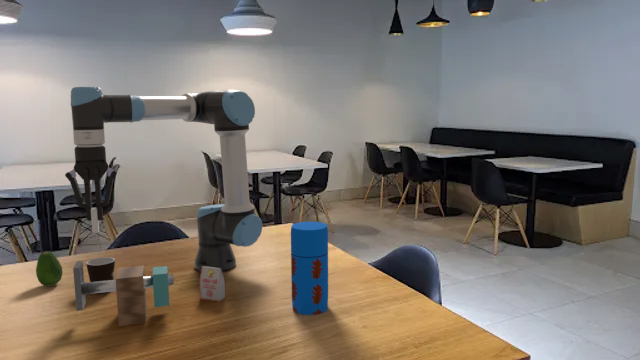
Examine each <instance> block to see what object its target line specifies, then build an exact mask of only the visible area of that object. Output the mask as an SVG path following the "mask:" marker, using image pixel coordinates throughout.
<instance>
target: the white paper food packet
mask: <svg viewBox="0 0 640 360" xmlns="http://www.w3.org/2000/svg"><path fill="white" fill-rule="evenodd" d="M198 282H199V285H198V286H199V299H200V300H207V301H214V302H220V301H222V300H224V299H225V298H226V287H225V284H226V283H225V277H224V274H223V271H221V268H214V267H205V266H202V267H201V271H200V275H199V280H198Z"/></svg>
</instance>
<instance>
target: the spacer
mask: <svg viewBox="0 0 640 360" xmlns="http://www.w3.org/2000/svg"><path fill="white" fill-rule="evenodd" d="M168 269H169V268H168V265H165V266H154V267H152V276H153V287H152V288H153V289H152V290H153V304H154V305H153V307H154V308H160V307H161V308H162V307H168V306H169V307H170V292H169V286H168V274H169V273H168V271H169V270H168Z"/></svg>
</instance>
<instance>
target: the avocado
mask: <svg viewBox="0 0 640 360" xmlns="http://www.w3.org/2000/svg"><path fill="white" fill-rule="evenodd" d="M35 273H36V278H37V280H38V282H39V283H40V284H41V285H42V286H45V287H52V286H55V285H56V284H58V283H59V282H60V281H61V280H62V276H63V266H62V265H61V262H60V261H59V259H58V258H57V256H56V255H55V254H54V253H53V252H52V251H51V250H50V251H46V250H45V251H43V252H41V253H40V254H39V255H38V259H37V262H36V266H35Z"/></svg>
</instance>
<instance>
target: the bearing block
mask: <svg viewBox="0 0 640 360" xmlns="http://www.w3.org/2000/svg"><path fill="white" fill-rule="evenodd" d="M144 277H146V274H145V265H135V266H134V265H133V266H124V267H118V268H117V272H116V276H115V280H116V291H115V292H116V304H117V307H116V308H117V318H118V319H117V320H118V327H122V326H123V327H124V326H130V325H131V326H132V325H138V324H146V323H147V309H148V308H147V307H148V306H147V293H146V289H147V288H144Z"/></svg>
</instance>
